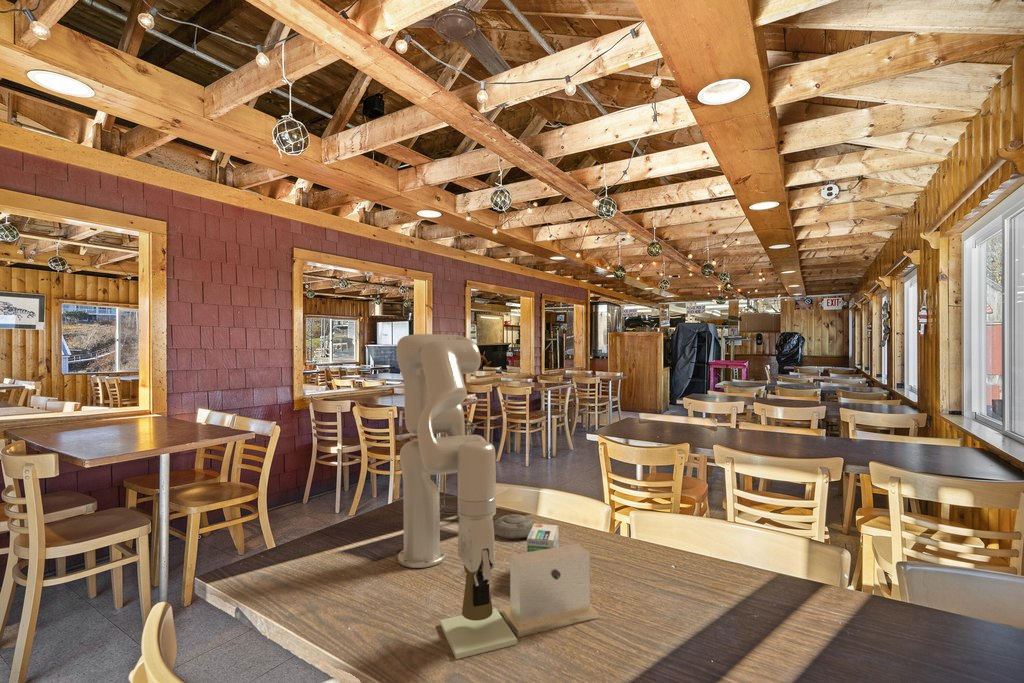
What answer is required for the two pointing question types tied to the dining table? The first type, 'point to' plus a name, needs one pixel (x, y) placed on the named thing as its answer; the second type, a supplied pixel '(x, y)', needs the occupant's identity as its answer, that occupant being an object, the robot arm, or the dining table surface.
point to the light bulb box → (543, 537)
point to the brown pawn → (468, 608)
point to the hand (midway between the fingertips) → (477, 598)
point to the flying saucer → (513, 526)
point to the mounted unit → (549, 589)
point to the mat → (477, 634)
